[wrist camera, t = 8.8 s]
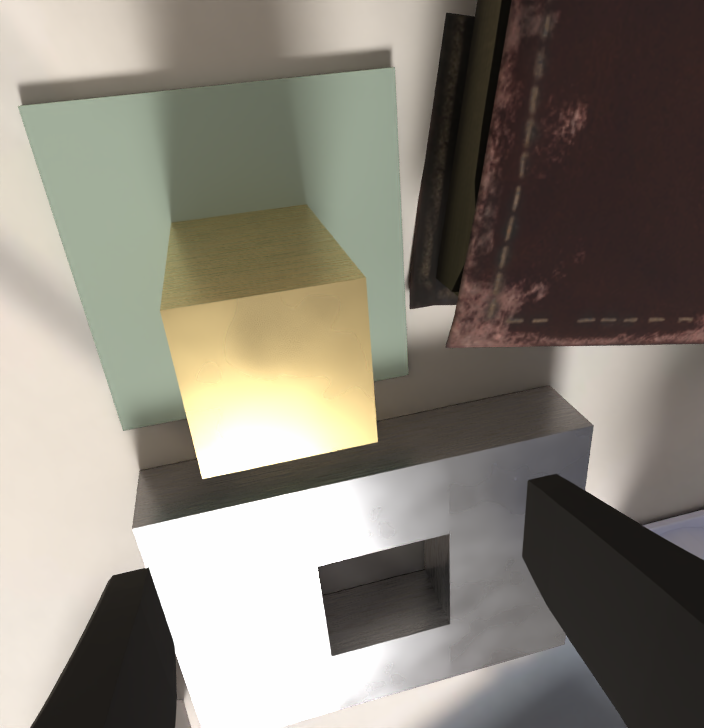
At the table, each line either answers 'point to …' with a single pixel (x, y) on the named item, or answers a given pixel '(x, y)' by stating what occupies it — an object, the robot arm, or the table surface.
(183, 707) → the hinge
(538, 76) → the diary
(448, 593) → the metal square hole block
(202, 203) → the rubber mat
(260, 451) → the brass peg
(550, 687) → the table surface
